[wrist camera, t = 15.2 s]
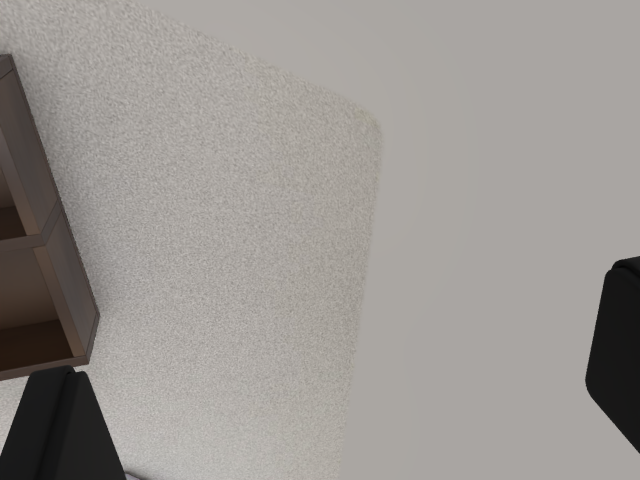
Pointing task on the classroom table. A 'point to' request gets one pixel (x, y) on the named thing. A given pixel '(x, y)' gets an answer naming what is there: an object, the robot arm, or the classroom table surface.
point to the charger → (130, 477)
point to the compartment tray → (36, 252)
